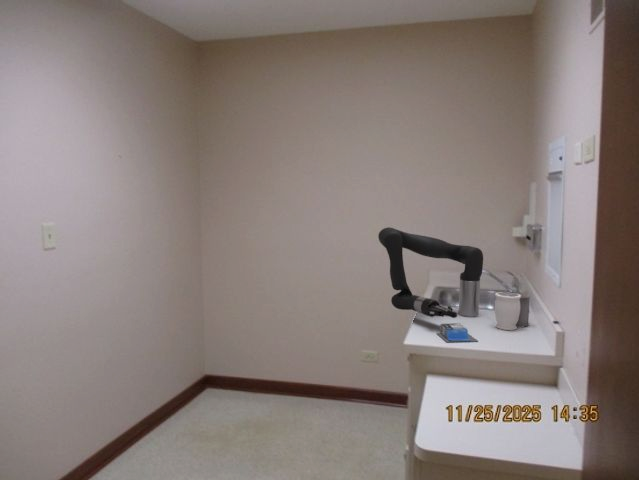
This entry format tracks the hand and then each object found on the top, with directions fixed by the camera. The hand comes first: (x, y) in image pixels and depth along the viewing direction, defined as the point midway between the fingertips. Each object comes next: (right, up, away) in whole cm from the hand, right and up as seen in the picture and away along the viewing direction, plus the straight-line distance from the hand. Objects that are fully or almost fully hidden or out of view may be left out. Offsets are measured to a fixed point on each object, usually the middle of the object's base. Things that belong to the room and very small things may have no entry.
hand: (455, 315), depth 198 cm
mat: (-1, -9, -4) cm, 10 cm away
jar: (+25, -7, +10) cm, 28 cm away
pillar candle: (+32, -7, +16) cm, 36 cm away
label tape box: (-2, -6, +2) cm, 6 cm away
